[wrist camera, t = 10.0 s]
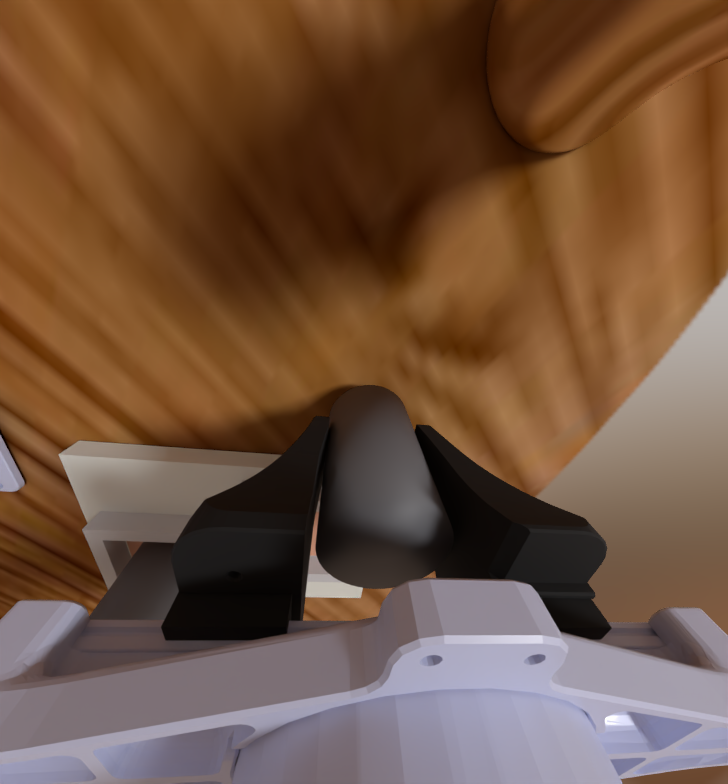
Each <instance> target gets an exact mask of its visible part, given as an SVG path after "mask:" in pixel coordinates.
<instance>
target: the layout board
mask: <svg viewBox="0 0 728 784" xmlns="http://www.w3.org/2000/svg"><path fill="white" fill-rule="evenodd" d="M280 456H281V455H277V454H262V453H248V452H234V451H220V450H206V449H192V448H177V447H163V446H149V445H135V444H121V443H107V442H93V441H78V442H76V443H75V444H73V445H72V446H70V447H69V448H68V449H66V450H65V451H63V452H62V453H60V454H59V457H60V459H61V461H62V464H63V466H64V469H65V471H66V473H67V476H68V478H69V480H70V483H71V485H72V488H73V490H74V492H75V495H76V497H77V500H78V502H79V504H80V507H81V509H82V512H83V514H84V516H85V519H86V521H87V525H86V526H85V527H84V528H83V529H82V531H83V533H84V535H85V538H86V540H87V542H88V544H89V547H90V549H91V551H92V554H93V556H94V558H95V560H96V563H97V565H98V567H99V570H100V572H101V574H102V577H103V579H104V581H105V583H106V586H107V588H108V590H109V589H110V587H111V586H112V584H113V583H114V582H115V580H116V579H117V577H118V576H119V575H120V573H121V572H122V571H123V569H124V568H125V566H126V565H127V564H128V562H129V561H130V559H131V558H132V557H133V555H134V554H135V553H136V551H137V550H138V548H139V547H140V546H141V544H142V543H143V542H166V543H175V542H176V541H177V539H178V537H179V536H180V534H181V532H182V531H183V529H184V527H185V526H186V524H187V523H188V521H189V519H190V518H191V517H192V515H193V514H194V513H195V511H196V510H197V509H198V508H199V506H200V505H201V504H202V502H203V501H204V500H205V499H207V498H209V497H212V496H214V495H216V494H218V493H221V492H223V491H225V490H227V489H230V488H232V487H234V486H236V485H238V484H240V483H242V482H243V481H245V480H247V479H249V478H251V477H252V476H254V475H256V474H257V473H259V472H260V471H262V470H263V469H265V468H266V467H267V466H269V465H270V464H271V463H273V462H274V461H275V460H276V459H278V458H279V457H280ZM321 489H322V487H321ZM320 498H321V491H320V496H319V501H318V505H317V510H316V515H315V520H314V526H313V535H312V543H311V552H310V560H309V569H308V578H307V587H306V595H305V597H331V598H361V594H362V589H363V588H362V587H357V586H352V585H349V584H346V583H344V582H341V581H339V580H337V579H336V578H334V577H332V576H331V575H330V574H329V573H327V572H326V571H325V570H324V569H323V567H322V566H321V564H320V563H319V561H318V559H317V556H316V550H315V544H316V535H317V526H318V517H319V507H320Z"/></svg>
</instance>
